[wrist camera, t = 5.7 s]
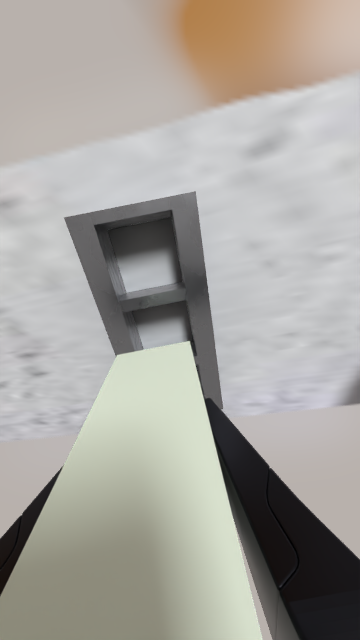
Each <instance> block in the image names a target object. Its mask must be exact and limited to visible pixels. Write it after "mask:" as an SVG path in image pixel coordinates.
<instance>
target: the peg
mask: <svg viewBox="0 0 360 640" xmlns="http://www.w3.org/2000/svg"><path fill="white" fill-rule="evenodd" d="M0 640H263V639H262V635H261V631H260V627H259V623H258V618H257V614H256V610H255V606H254V602H253V598H252V594H251V590H250V586H249V582H248V578H247V574H246V569H245V565H244V561H243V557H242V553H241V549H240V545H239V541H238V537H237V533H236V528H235V524H234V520H233V516H232V512H231V508H230V504H229V500H228V496H227V492H226V488H225V484H224V479H223V475H222V471H221V467H220V463H219V459H218V455H217V451H216V447H215V443H214V439H213V435H212V430H211V426H210V422H209V418H208V414H207V410H206V406H205V402H204V398H203V394H202V390H201V385H200V381H199V377H198V373H197V369H196V365H195V361H194V357H193V353H192V349H191V345H190V341H187V342H182V343H176V344H171V345H166V346H161V347H156V348H151V349H146V350H140V351H135V352H130V353H125V354H120V355H117V357H116V359H115V361H114V363H113V365H112V367H111V369H110V371H109V373H108V375H107V377H106V379H105V381H104V383H103V385H102V388H101V390H100V392H99V394H98V396H97V398H96V400H95V402H94V404H93V406H92V408H91V410H90V412H89V414H88V416H87V418H86V421H85V423H84V425H83V427H82V429H81V431H80V433H79V435H78V437H77V439H76V441H75V443H74V445H73V447H72V449H71V452H70V454H69V456H68V458H67V460H66V462H65V464H64V466H63V468H62V470H61V472H60V474H59V476H58V478H57V480H56V482H55V485H54V487H53V489H52V491H51V493H50V495H49V497H48V499H47V501H46V503H45V505H44V507H43V509H42V511H41V513H40V516H39V518H38V520H37V522H36V524H35V526H34V528H33V530H32V532H31V534H30V536H29V538H28V540H27V542H26V544H25V546H24V549H23V551H22V553H21V555H20V557H19V559H18V561H17V563H16V565H15V567H14V569H13V571H12V573H11V575H10V577H9V580H8V582H7V584H6V586H5V588H4V590H3V592H2V594H1V596H0Z"/></svg>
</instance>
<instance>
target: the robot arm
mask: <svg viewBox="0 0 360 640" xmlns="http://www.w3.org/2000/svg"><path fill="white" fill-rule="evenodd" d="M204 402H205V406H206V410H207V414H208V418H209V422H210V426H211V430H212V435H213V439H214V443H215V447H216V451H217V455H218V459H219V463H220V467H221V471H222V475H223V479H224V484H225V488H226V492H227V496H228V500H229V504H230V508H231V512H232V516H233V519H234V522H235V525H236V528H237V531H238V534H239V537H240V540H241V543H242V546H243V550H244V553H245V556H246V559H247V562H248V565H249V568H250V571H251V574H252V577H253V580H254V583H255V587H256V590H257V593H258V596H259V599H260V602H261V605H262V608H263V611H264V614H265V617H266V620H267V623H268V627H269V630H270V633H271V635H272V639H273V640H360V559H359V558H358V557H357V556H356V555H355V554H354V553H353V552H352V551H351V550H350V549H349V548H348V547H346V545H345V544H344V543H342V542H341V541H340V540H339V539H338V538H337V537H336V536H335V535H334V534H333V533H332V532H331V531H330V530H329V529H328V528H327V527H326V526H325V525H324V524H323V523H322V522H321V521H320V520H319V519H318V518H317V517H316V516H315V515H314V514H313V513H312V512H311V511H310V510H309V509H308V508H307V507H306V506H305V505H304V504H303V503H302V502H301V501H300V500H299V499H298V498H297V497H296V495H295V494H294V493H293V492H292V491H291V490H290V489H289V488H288V487H287V485H286V484H285V483H284V482H283V481H282V480H281V479H280V478H279V476H278V475H277V474H276V473H275V472H274V471H273V470H272V469H271V468H269V465H268V464H267V463H266V462H265V460H264V459H263V458H262V457H261V456H260V455H259V454H258V452H257V451H256V450H255V449H254V448H253V446H252V445H251V444H250V443H249V442H248V441H247V440H246V439H245V437H244V436H243V435H242V434H241V433H240V431H239V430H238V429H237V428H236V427H235V426H234V424H233V423H232V422H231V421H230V420H229V419H228V417H227V416H226V415H225V414H224V413H223V412H222V410H221V409H220V408H219V407H218V406H217V405H216V404H215V402H214V401H213V400H212V399H211V398H205V399H204ZM63 466H64V465H63ZM62 468H63V467H62ZM62 468H61V469H60V470H59V471H58V472H57V474H56V475H55V476H54V477H53V478H52V479H51V481H50V482H49V483H48V484H47V485H46V486H45V487H44V489H43V490H42V491H41V492H40V493H39V494H38V496H37V497H36V498H35V499H34V500H33V501H32V503H31V504H30V505H29V506H28V507H27V509H26V510H25V511H24V512H23V514H22V515H21V516H20V517H19V518H18V519H17V520H16V521H15V522H14V524H13V525H12V526H11V527H10V528H9V529H8V530H7V532H6V533H5V534H4V535H3V536H2V537H1V538H0V596H1V594H2V592H3V590H4V588H5V586H6V584H7V582H8V580H9V577H10V575H11V573H12V571H13V569H14V567H15V565H16V563H17V561H18V559H19V557H20V555H21V553H22V551H23V549H24V546H25V544H26V542H27V540H28V538H29V536H30V534H31V532H32V530H33V528H34V526H35V524H36V522H37V520H38V518H39V516H40V513H41V511H42V509H43V507H44V505H45V503H46V501H47V499H48V497H49V495H50V493H51V491H52V489H53V487H54V485H55V482H56V480H57V478H58V476H59V474H60V472H61V470H62Z"/></svg>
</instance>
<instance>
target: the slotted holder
mask: <svg viewBox="0 0 360 640" xmlns="http://www.w3.org/2000/svg"><path fill="white" fill-rule="evenodd" d="M170 217H171V219H172V225H173V230H174V236H175V241H176V247H177V253H178V258H179V264H180V270H181V275H182V281H183V282H179V283H174V284H169V285H164V286H159V287H154V288H149V289H144V290H139V291H134V292H129V293H126V290H125V287H124V283H123V280H122V277H121V274H120V270H119V267H118V264H117V260H116V257H115V254H114V250H113V247H112V244H111V240H110V237H109V234H108V230H110V229H115V228H120V227H125V226H130V225H135V224H140V223H145V222H150V221H155V220H160V219H165V218H170ZM64 219H65V221H66V224H67V227H68V229H69V232H70V235H71V237H72V240H73V243H74V245H75V248H76V251H77V253H78V256H79V259H80V261H81V264H82V267H83V269H84V272H85V275H86V278H87V280H88V283H89V286H90V288H91V291H92V294H93V296H94V299H95V302H96V304H97V307H98V310H99V312H100V315H101V318H102V320H103V323H104V326H105V328H106V331H107V334H108V336H109V339H110V342H111V344H112V347H113V350H114V352H115V355H116V357H117V355H120V354H125V353H130V352H135V351H140V350H143V346H142V343H141V340H140V336H139V333H138V330H137V327H136V323H135V320H134V317H133V313H132V311H134V310H139V309H144V308H149V307H154V306H159V305H164V304H169V303H174V302H179V301H184V300H186V303H187V309H188V315H189V320H190V326H191V332H192V337H193V341H190V345H191V349H192V353H193V357H194V361H195V365H198V371H199V377H200V382H201V390H202V394H203V398H204V399H205V398H211V399H212V400H213V401H214V402H215V404H216V405H217V406H218V407H219V408H220V409H223V404H222V397H221V389H220V381H219V373H218V365H217V357H216V349H215V341H214V333H213V325H212V318H211V310H210V302H209V294H208V286H207V278H206V270H205V262H204V254H203V246H202V239H201V231H200V223H199V215H198V207H197V199H196V192H191V193H186V194H181V195H176V196H171V197H165V198H160V199H155V200H150V201H145V202H140V203H135V204H130V205H125V206H120V207H115V208H110V209H105V210H100V211H95V212H90V213H85V214H80V215H75V216H70V217H65V218H64Z"/></svg>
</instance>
